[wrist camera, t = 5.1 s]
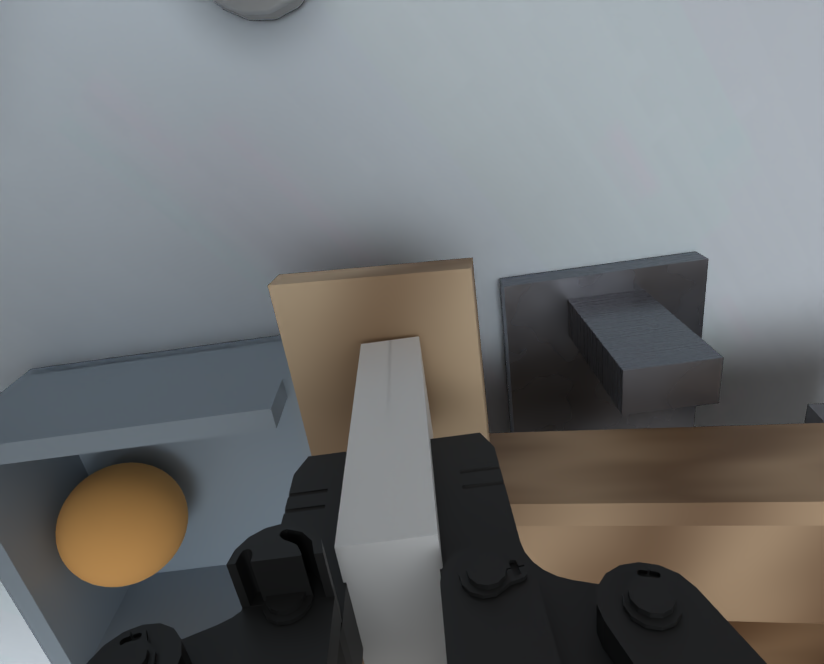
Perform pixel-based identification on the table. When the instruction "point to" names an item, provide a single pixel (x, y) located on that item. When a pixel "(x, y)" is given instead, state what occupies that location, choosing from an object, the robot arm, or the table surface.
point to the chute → (585, 458)
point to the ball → (121, 524)
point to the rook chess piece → (259, 8)
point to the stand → (609, 346)
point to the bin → (157, 446)
